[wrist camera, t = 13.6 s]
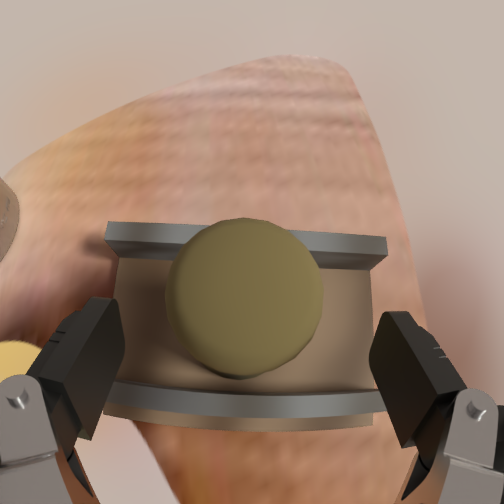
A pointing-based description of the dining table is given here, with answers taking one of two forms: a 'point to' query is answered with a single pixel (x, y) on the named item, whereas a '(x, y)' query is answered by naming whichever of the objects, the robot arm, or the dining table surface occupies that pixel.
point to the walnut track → (267, 384)
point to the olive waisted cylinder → (244, 297)
